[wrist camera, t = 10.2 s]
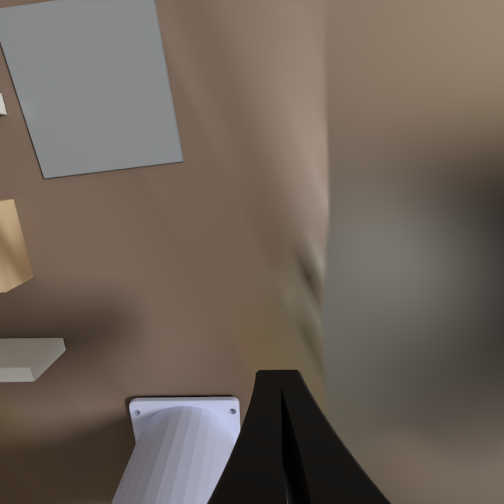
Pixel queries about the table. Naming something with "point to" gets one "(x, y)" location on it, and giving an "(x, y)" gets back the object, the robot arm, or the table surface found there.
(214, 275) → the table surface
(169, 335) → the table surface
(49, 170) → the slate coaster
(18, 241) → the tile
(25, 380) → the frame
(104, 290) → the table surface
